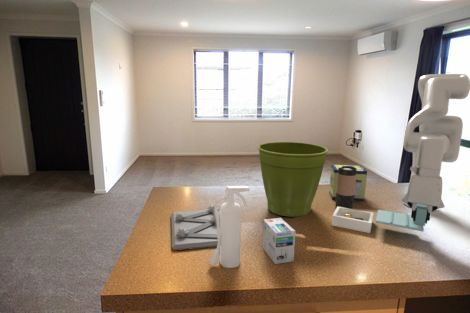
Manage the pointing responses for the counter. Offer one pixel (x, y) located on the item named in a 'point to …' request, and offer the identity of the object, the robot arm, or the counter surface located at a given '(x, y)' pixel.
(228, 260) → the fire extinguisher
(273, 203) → the plant pot
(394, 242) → the counter surface
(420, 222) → the lid
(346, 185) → the travel mug
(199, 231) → the grey zigzag panel
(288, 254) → the light bulb box
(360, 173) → the protein box
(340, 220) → the tub
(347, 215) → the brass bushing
